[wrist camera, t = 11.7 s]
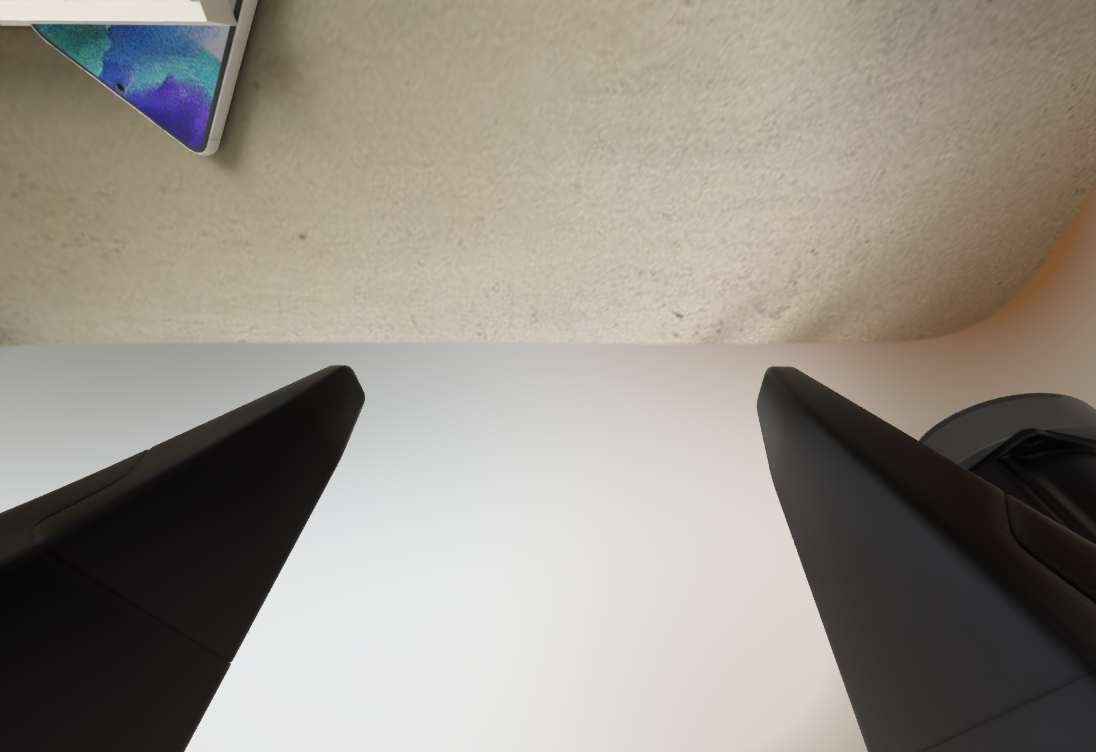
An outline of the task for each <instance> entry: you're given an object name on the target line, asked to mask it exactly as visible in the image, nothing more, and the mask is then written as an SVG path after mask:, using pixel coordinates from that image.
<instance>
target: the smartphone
mask: <svg viewBox="0 0 1096 752" xmlns="http://www.w3.org/2000/svg"><path fill="white" fill-rule="evenodd" d="M228 1H229V4H230V7H231V9H232V12H233V15H234V18H235V20H236V22H238V23H237V24H238V26H201V25H94V24H30V25H31V27H32V28H33V29H34V30H35V32H36V33H37V34H38V35H39V36H40V37H41V38H42V39H43V40H45V41H46V42H47V43H48V44H50V45H51V46H52V47H54V48H55V49H56V50H58V51H59V52H60V53H62V54H63V55H64V56H65V57H67V58H68V59H69V60H71V61H72V62H73V63H75V64H76V65H77V66H79V67H80V68H81V69H83V70H84V71H85V72H87V73H88V74H89V75H91V76H92V77H93V78H95V79H96V80H97V81H99V82H100V83H101V84H102V85H104V86H105V87H106V88H108V89H109V90H110V91H112V92H113V93H114V94H116V95H117V96H118V97H120V98H121V99H122V100H124V101H125V102H126V103H128V104H129V105H130V106H132V107H133V108H134V109H136V110H137V111H138V112H139V113H141V114H142V115H143V116H145V117H146V118H147V119H149V120H150V121H151V122H153V123H154V124H155V125H157V126H158V127H159V128H161V129H162V130H163V131H165V132H166V133H167V134H169V135H170V136H171V137H173V138H174V139H175V140H177V141H178V142H179V143H180V144H182V145H183V146H184V147H186V148H187V149H188V150H190V151H192V152H194V153H196V154H199V155H205V156H208V155H212V154H214V153H215V152H216V151H217V150H218V148H219V145H220V141H221V137H222V133H223V130H224V126H225V122H226V118H227V115H228V111H229V107H230V103H231V100H232V96H233V92H234V88H235V84H236V81H237V77H238V73H239V69H240V66H241V62H242V58H243V54H244V51H245V47H246V43H247V39H248V36H249V32H250V28H251V24H252V21H253V17H254V13H255V9H256V6H257V2H258V0H228Z"/></svg>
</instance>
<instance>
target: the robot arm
mask: <svg viewBox="0 0 1096 752" xmlns="http://www.w3.org/2000/svg"><path fill="white" fill-rule="evenodd" d="M364 401H365V394H364V391H363V389H362V387H361V385H360V383H359V381H358V379H357V377H356V375H355V373H354V371H353V370H352V369H351V368H350V367H349V366H346V365H343V366H342V365H334V366H329V367H327V368H324V369H322V370H320V371H318V372H316V373H313V374H311V375H309V376H307V377H305V378H302V379H300V380H298V381H296V382H294V383H292V384H289V385H287V386H285V387H283V388H281V389H278V390H276V391H274V392H272V393H270V394H267V395H265V396H263V397H261V398H259V399H257V400H255V401H252V402H250V403H248V404H246V405H243V406H241V407H239V408H237V409H235V410H232V411H230V412H228V413H226V414H224V415H222V416H219V417H217V418H215V419H213V420H211V421H208V422H207V423H204V424H202V425H200V426H197V427H195V428H193V429H191V430H189V431H187V432H184V433H182V434H180V435H178V436H176V437H173V438H171V439H169V440H167V441H165V442H163V443H160V444H158V445H156V446H154V447H152V448H151V449H150V450H145V451H143V452H140V453H138V454H136V455H134V456H132V457H130V458H127V459H125V460H123V461H121V462H118V463H116V464H114V465H112V466H110V467H107V468H105V469H103V470H100V471H98V472H96V473H94V474H91V475H89V476H87V477H85V478H83V479H80V480H78V481H75V482H73V483H71V484H68V485H66V486H64V487H61V488H59V489H57V490H54V491H52V492H50V493H48V494H45V495H43V496H40V497H38V498H35V499H33V500H31V501H28V502H26V503H24V504H21V505H19V506H16V507H14V508H12V509H9V510H7V511H4V512H2V513H0V752H184V751H185V749H186V747H187V745H188V744H189V742H190V740H191V738H192V736H193V734H194V732H195V730H196V729H197V727H198V725H199V723H200V721H201V719H202V717H203V715H204V714H205V712H206V710H207V708H208V706H209V704H210V702H211V700H212V699H213V697H214V695H215V693H216V691H217V689H218V687H219V686H220V684H221V682H222V680H223V678H224V676H225V675H226V673H227V671H228V669H229V667H230V665H231V663H230V662H232V661H233V659H234V657H235V655H236V653H237V651H238V649H239V647H240V646H241V644H242V642H243V640H244V638H245V636H246V634H247V633H248V631H249V629H250V627H251V625H252V623H253V622H254V620H255V618H256V616H257V614H258V612H259V610H260V608H261V607H262V605H263V603H264V601H265V599H266V597H267V595H268V593H269V592H270V590H271V588H272V586H273V584H274V582H275V581H276V579H277V577H278V575H279V573H280V571H281V569H282V567H283V566H284V564H285V562H286V560H287V558H288V556H289V554H290V553H291V551H292V549H293V547H294V545H295V543H296V541H297V539H298V538H299V536H300V534H301V532H302V530H303V528H304V527H305V525H306V523H307V521H308V519H309V517H310V515H311V513H312V512H313V510H314V508H315V506H316V504H317V502H318V500H319V498H320V497H321V495H322V493H323V491H324V489H325V487H326V485H327V484H328V482H329V480H330V478H331V476H332V474H333V472H334V471H335V468H336V467H337V465H338V463H339V461H340V459H341V457H342V455H343V452H344V450H345V448H346V446H347V443H348V441H349V438H350V436H351V433H352V431H353V429H354V426H355V424H356V421H357V419H358V417H359V414H360V412H361V409H362V407H363V404H364ZM757 412H758V417H759V421H760V426H761V430H762V435H763V440H764V445H765V449H766V454H767V458H768V463H769V468H770V472H771V476H772V480H773V483H774V486H775V489H776V492H777V495H778V498H779V501H780V504H781V506H782V509H783V512H784V514H785V517H786V521H787V523H788V526H789V529H790V532H791V535H792V538H793V540H794V543H795V546H796V549H797V552H798V555H799V557H800V560H801V563H802V566H803V569H804V572H805V574H806V577H807V580H808V583H809V585H810V588H811V591H812V594H813V597H814V600H815V603H816V605H817V608H818V611H819V614H820V617H821V620H822V623H823V625H824V628H825V631H826V634H827V637H828V640H829V642H830V645H831V648H832V651H833V654H834V657H835V659H836V662H837V665H838V668H839V671H840V674H841V676H842V679H843V682H844V685H845V688H846V691H847V693H848V696H849V699H850V702H851V705H852V708H853V710H854V713H855V716H856V719H857V722H858V725H859V727H860V730H861V733H862V736H863V739H864V742H865V744H866V747H867V750H868V752H1096V440H1093V439H1088V438H1083V437H1078V436H1073V435H1068V434H1063V433H1058V432H1053V431H1048V430H1043V429H1038V428H1028V429H1024V430H1021V431H1019V432H1017V433H1016V434H1015V435H1013V436H1012V437H1011V438H1009V439H1008V440H1007V441H1005V442H1004V443H1003V444H1002V445H1000V446H999V447H998V448H996V449H995V450H994V451H992V452H991V453H990V454H988V455H987V456H986V457H984V458H983V459H982V460H981V461H979V462H978V463H977V464H975V465H974V466H973V467H971V468H970V469H969V470H967V469H965V468H963V467H962V466H960V465H958V464H957V463H955V462H953V461H951V460H950V459H948V458H946V457H945V456H943V455H941V454H940V453H938V452H936V451H935V450H933V449H931V448H929V447H928V446H926V445H924V444H923V443H921V442H919V441H918V440H916V439H914V438H912V437H911V436H909V435H907V434H906V433H904V432H902V431H901V430H899V429H897V428H896V427H894V426H892V425H891V424H889V423H887V422H885V421H883V420H882V419H880V418H879V417H877V416H875V415H874V414H872V413H870V412H868V411H867V410H865V409H863V408H862V407H860V406H858V405H857V404H855V403H853V402H852V401H850V400H848V399H847V398H845V397H843V396H841V395H840V394H838V393H836V392H835V391H833V390H831V389H830V388H828V387H826V386H824V385H823V384H821V383H819V382H818V381H816V380H814V379H813V378H811V377H809V376H808V375H806V374H804V373H803V372H801V371H799V370H798V369H796V368H794V367H770V368H768V369H767V371H766V373H765V375H764V379H763V382H762V386H761V389H760V393H759V396H758V400H757Z"/></svg>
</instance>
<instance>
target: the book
mask: <svg viewBox="0 0 1096 752" xmlns="http://www.w3.org/2000/svg"><path fill="white" fill-rule="evenodd" d="M237 23H238V22H236V20H235V18H234V15H233V12H232V9H231V7H230V4H229V1H228V0H0V26H31V25H30V24H94V25H201V26H238V24H237Z"/></svg>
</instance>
